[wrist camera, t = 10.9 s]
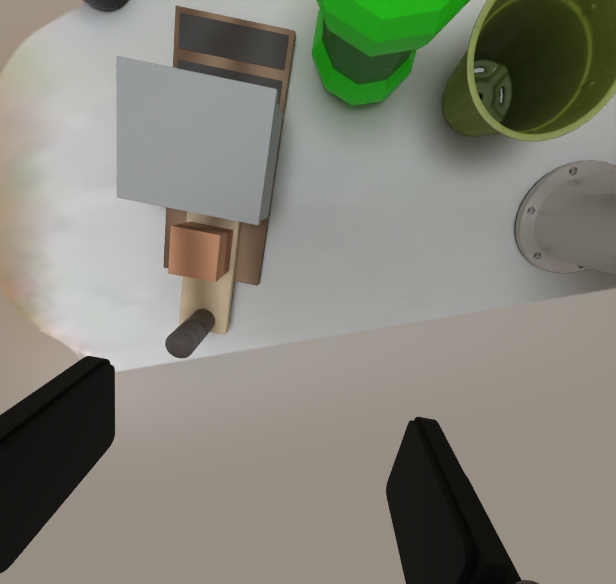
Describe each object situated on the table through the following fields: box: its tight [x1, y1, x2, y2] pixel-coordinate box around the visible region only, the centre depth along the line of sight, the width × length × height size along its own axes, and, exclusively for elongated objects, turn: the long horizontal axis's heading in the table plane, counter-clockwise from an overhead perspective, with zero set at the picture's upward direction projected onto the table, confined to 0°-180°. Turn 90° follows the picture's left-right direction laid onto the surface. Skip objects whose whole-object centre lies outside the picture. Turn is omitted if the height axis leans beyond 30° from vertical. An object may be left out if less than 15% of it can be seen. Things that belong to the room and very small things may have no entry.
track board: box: [164, 6, 296, 285], centre depth 35 cm, size 12×27×1 cm, turn 169°
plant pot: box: [442, 0, 616, 142], centre depth 27 cm, size 12×12×11 cm
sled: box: [165, 211, 241, 358], centre depth 33 cm, size 6×22×8 cm, turn 169°
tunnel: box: [117, 56, 283, 225], centre depth 30 cm, size 13×11×8 cm
